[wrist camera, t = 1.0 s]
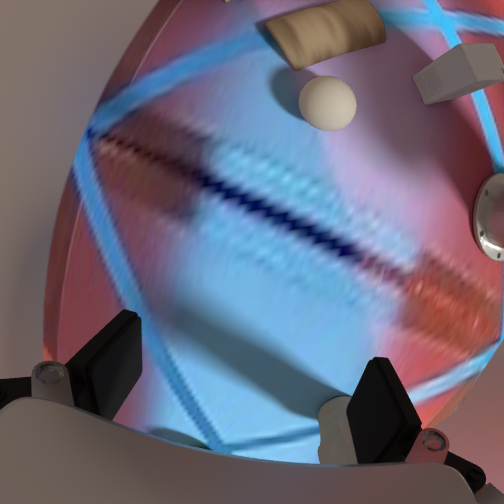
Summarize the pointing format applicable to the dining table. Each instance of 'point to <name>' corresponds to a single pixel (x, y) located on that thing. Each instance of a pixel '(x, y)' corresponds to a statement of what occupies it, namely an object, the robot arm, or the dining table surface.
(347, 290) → the dining table surface
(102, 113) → the dining table surface
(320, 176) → the dining table surface
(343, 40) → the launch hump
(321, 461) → the vase
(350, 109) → the ball
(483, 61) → the skincare box
